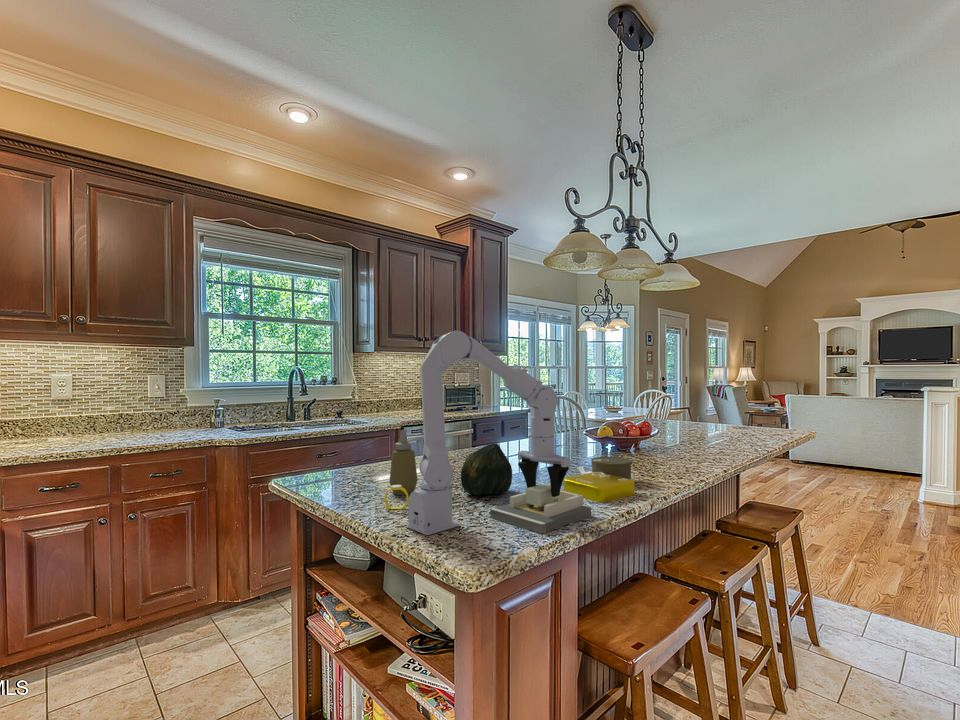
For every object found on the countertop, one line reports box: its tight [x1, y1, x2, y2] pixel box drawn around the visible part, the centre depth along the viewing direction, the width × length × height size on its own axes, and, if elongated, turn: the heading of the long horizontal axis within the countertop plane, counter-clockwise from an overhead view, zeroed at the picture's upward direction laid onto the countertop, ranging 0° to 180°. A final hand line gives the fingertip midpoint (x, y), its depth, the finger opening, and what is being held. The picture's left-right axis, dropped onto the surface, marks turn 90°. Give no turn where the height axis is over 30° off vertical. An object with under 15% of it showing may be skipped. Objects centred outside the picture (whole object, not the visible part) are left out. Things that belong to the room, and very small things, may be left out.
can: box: [591, 456, 632, 479], centre depth 147 cm, size 12×12×7 cm
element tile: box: [563, 472, 636, 503], centre depth 134 cm, size 15×15×5 cm
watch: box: [384, 485, 410, 510], centre depth 120 cm, size 6×3×6 cm, turn 93°
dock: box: [489, 490, 592, 534], centre depth 113 cm, size 18×16×4 cm
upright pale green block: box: [525, 483, 559, 511], centre depth 113 cm, size 7×4×5 cm, turn 133°
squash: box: [460, 443, 513, 497], centre depth 135 cm, size 14×15×15 cm
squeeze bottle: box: [389, 429, 418, 496], centre depth 136 cm, size 8×8×18 cm
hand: (543, 493), depth 113 cm, fingers open, 7 cm apart
